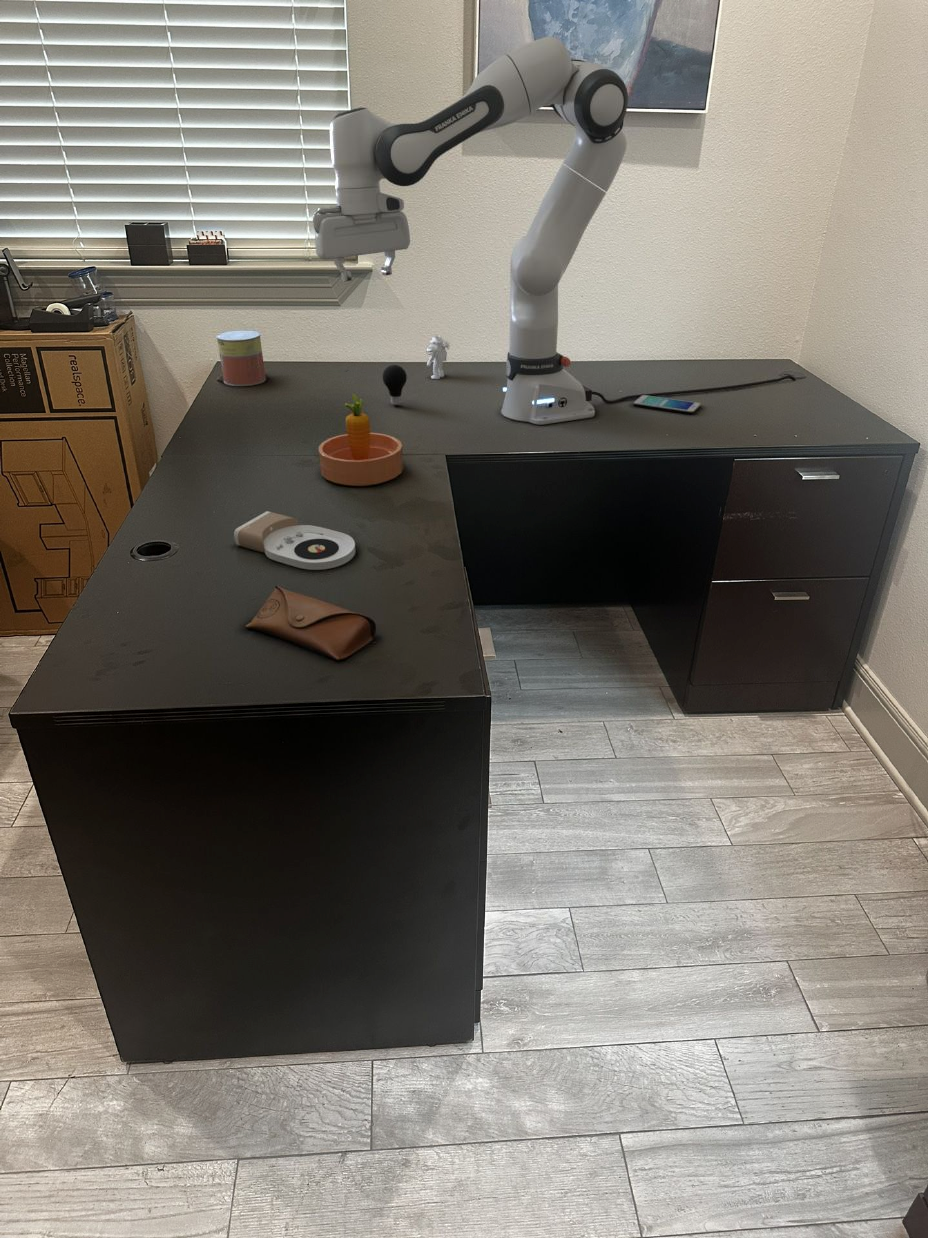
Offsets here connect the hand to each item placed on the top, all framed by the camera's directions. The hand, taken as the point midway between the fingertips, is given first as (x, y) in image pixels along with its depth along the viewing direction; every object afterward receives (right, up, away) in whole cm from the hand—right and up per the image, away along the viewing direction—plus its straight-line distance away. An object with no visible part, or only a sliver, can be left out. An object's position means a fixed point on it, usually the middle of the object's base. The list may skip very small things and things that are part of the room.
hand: (367, 277), depth 173 cm
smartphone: (+70, -19, +32) cm, 79 cm away
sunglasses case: (-2, -73, -55) cm, 91 cm away
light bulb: (+3, -18, +34) cm, 39 cm away
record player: (-8, -59, -32) cm, 68 cm away
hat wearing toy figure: (+13, -5, +56) cm, 58 cm away
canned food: (-40, -6, +54) cm, 67 cm away
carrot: (-1, -41, -3) cm, 41 cm away
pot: (-1, -41, -3) cm, 41 cm away
